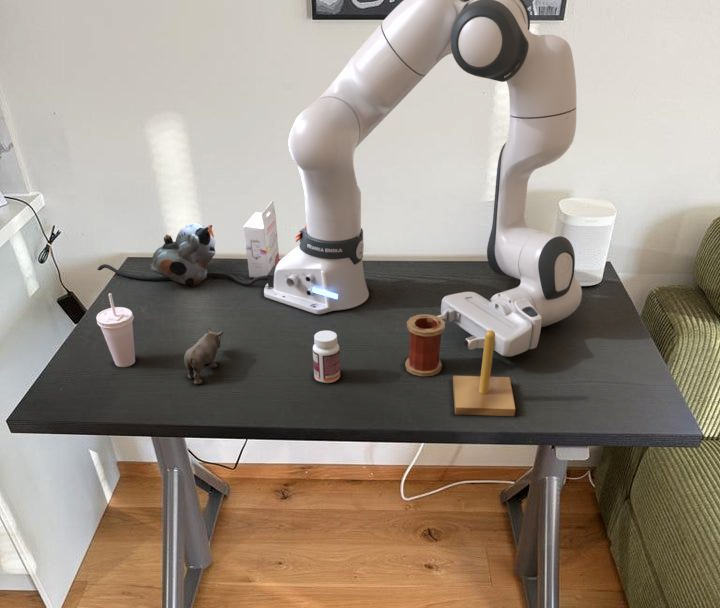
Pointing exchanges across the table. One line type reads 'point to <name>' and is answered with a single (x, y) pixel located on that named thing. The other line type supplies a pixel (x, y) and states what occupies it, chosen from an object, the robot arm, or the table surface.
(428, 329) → the spool
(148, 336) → the table surface
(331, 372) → the pill bottle
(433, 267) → the table surface
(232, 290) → the table surface
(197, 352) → the rhino figurine
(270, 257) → the ink cartridge box
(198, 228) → the lucky cat figurine
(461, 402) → the peg stand
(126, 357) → the smoothie
